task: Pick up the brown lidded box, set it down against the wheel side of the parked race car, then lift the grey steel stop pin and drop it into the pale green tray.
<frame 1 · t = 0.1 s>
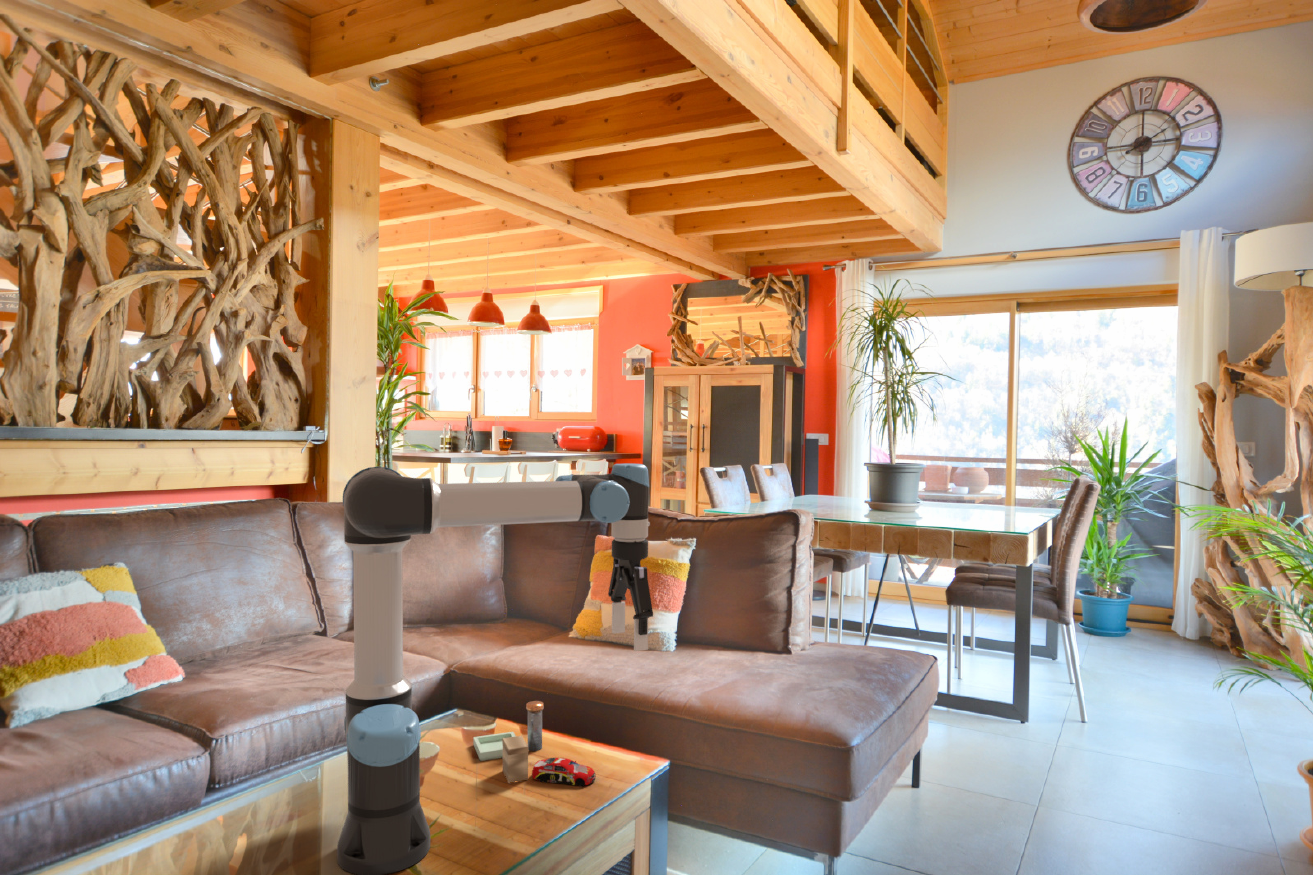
hand: (629, 641, 171), 28 cm above the table, fingers open, 13 cm apart
race car: (563, 781, 169), on the table
brown lidded box: (515, 775, 170), on the table
tray: (497, 749, 183), on the table
stop pin: (534, 748, 184), on the table
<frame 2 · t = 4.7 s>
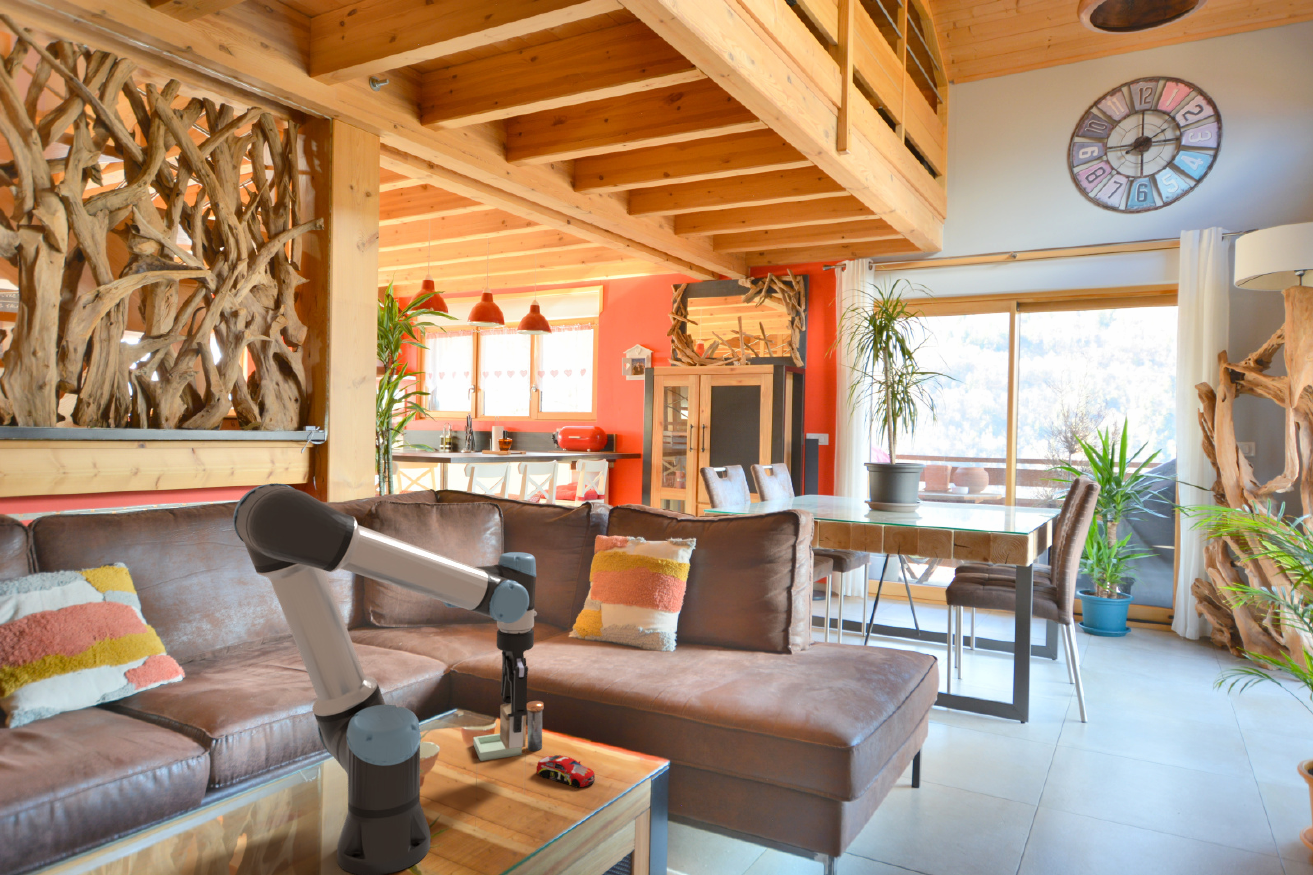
hand: (512, 740, 170), 8 cm above the table, fingers closed on brown lidded box, 6 cm apart
brown lidded box: (512, 742, 170), point 7 cm above the table, touching gripper
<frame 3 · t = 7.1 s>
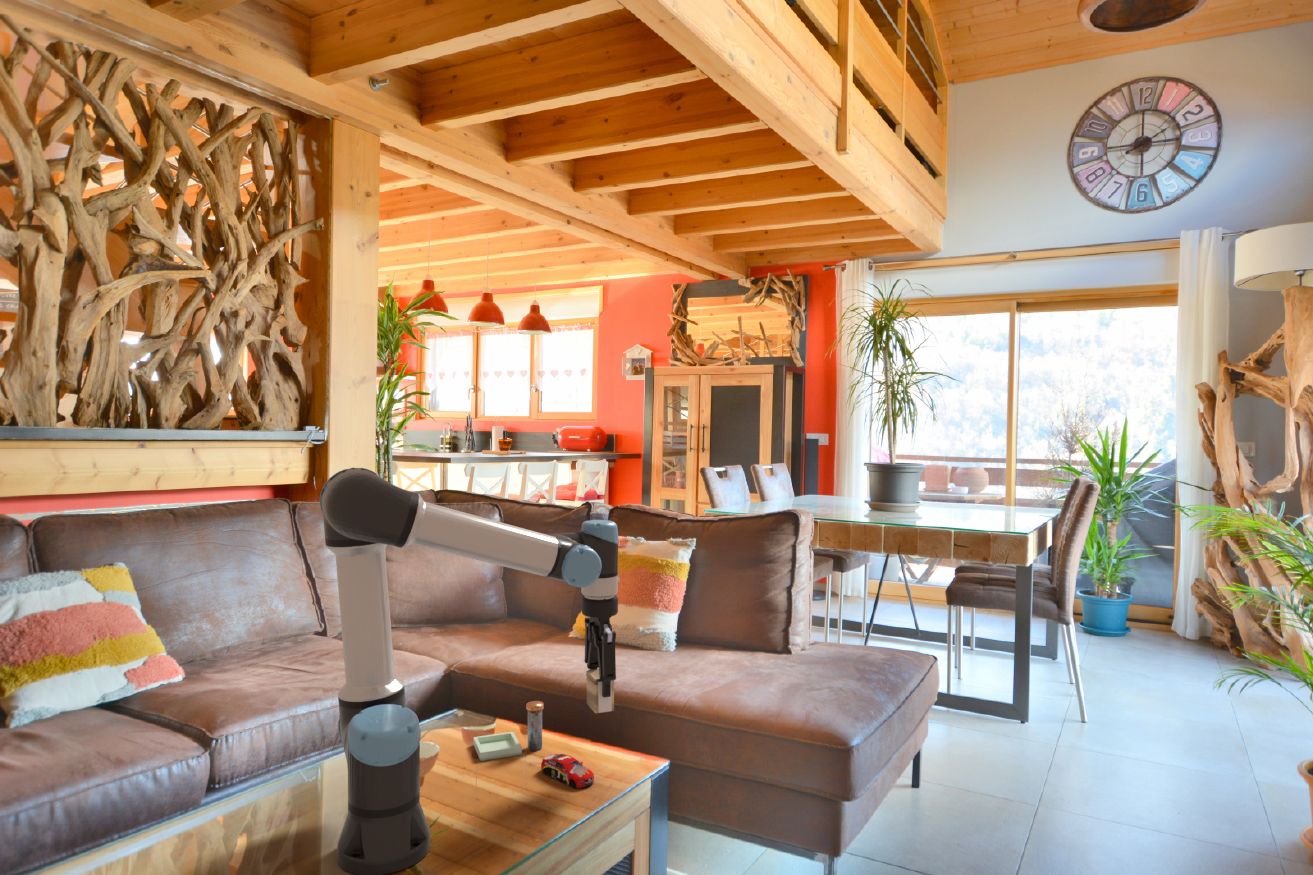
hand: (599, 705, 171), 14 cm above the table, fingers closed on brown lidded box, 6 cm apart
brown lidded box: (600, 707, 171), point 14 cm above the table, touching gripper
when the fingers open (0 cm above the table, at t = 9.7 s): brown lidded box stays where it is, on the table.
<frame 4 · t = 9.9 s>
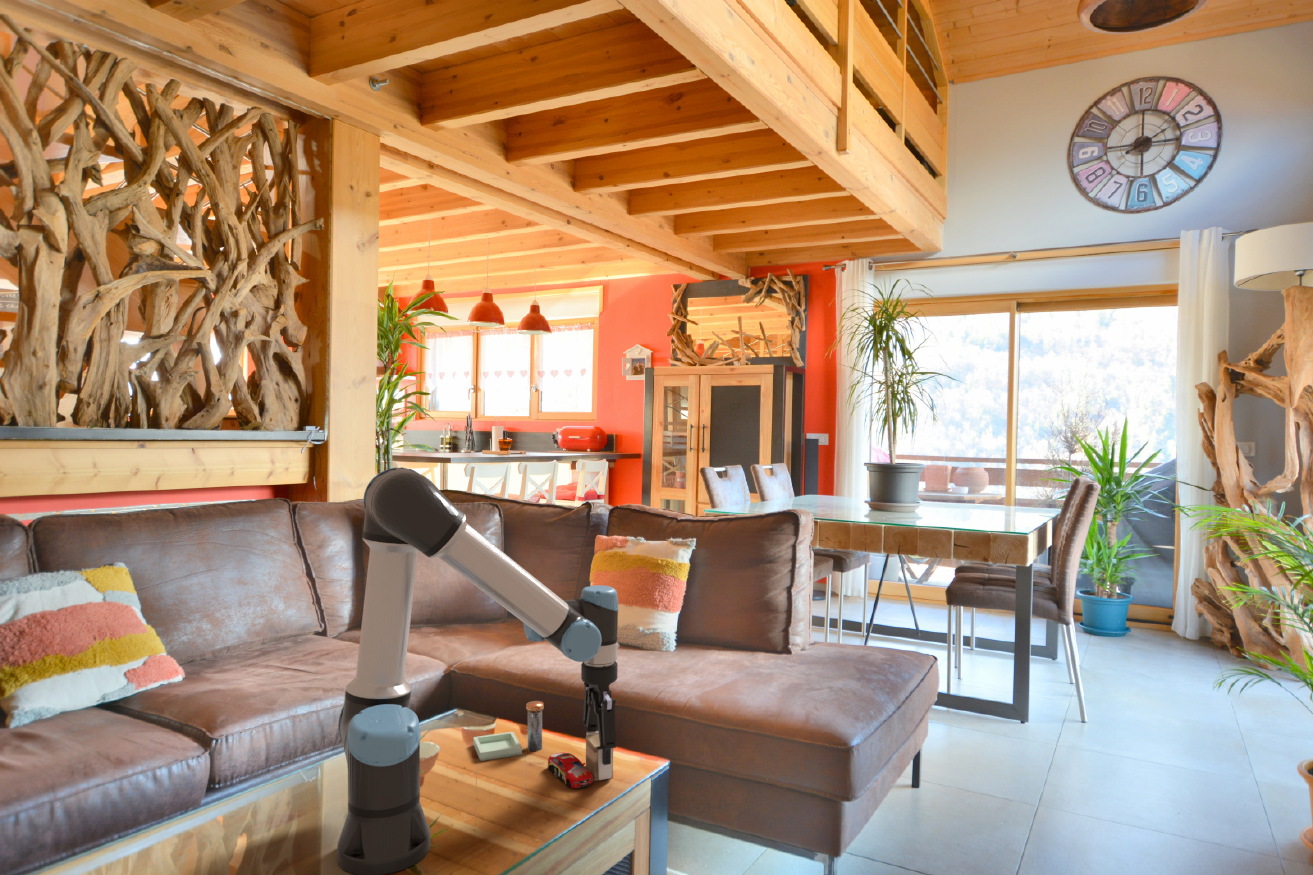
hand: (598, 770, 172), 1 cm above the table, fingers open, 7 cm apart
brown lidded box: (599, 773, 172), on the table
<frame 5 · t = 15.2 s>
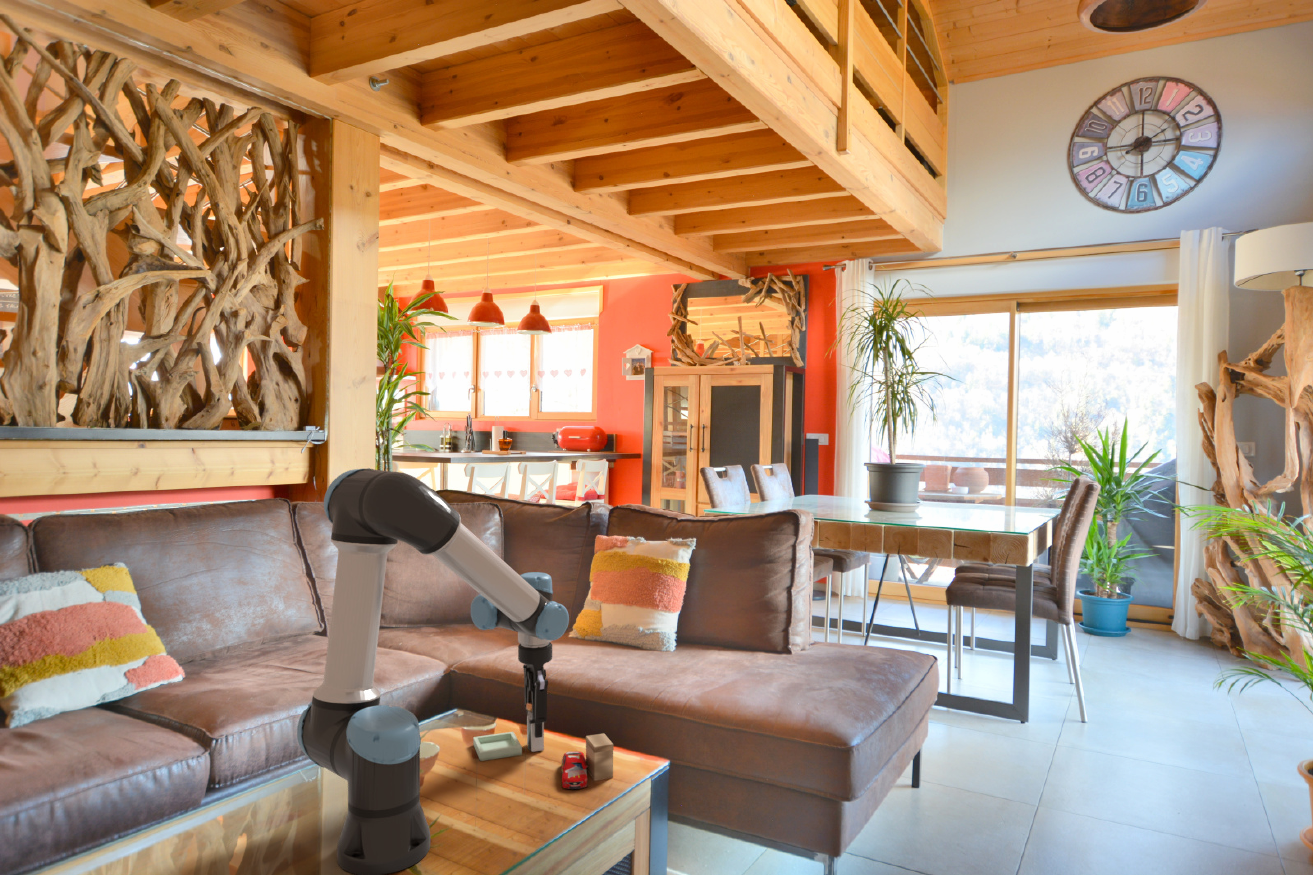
hand: (535, 746, 184), 0 cm above the table, fingers closed on stop pin, 3 cm apart
stop pin: (534, 748, 184), on the table, touching gripper
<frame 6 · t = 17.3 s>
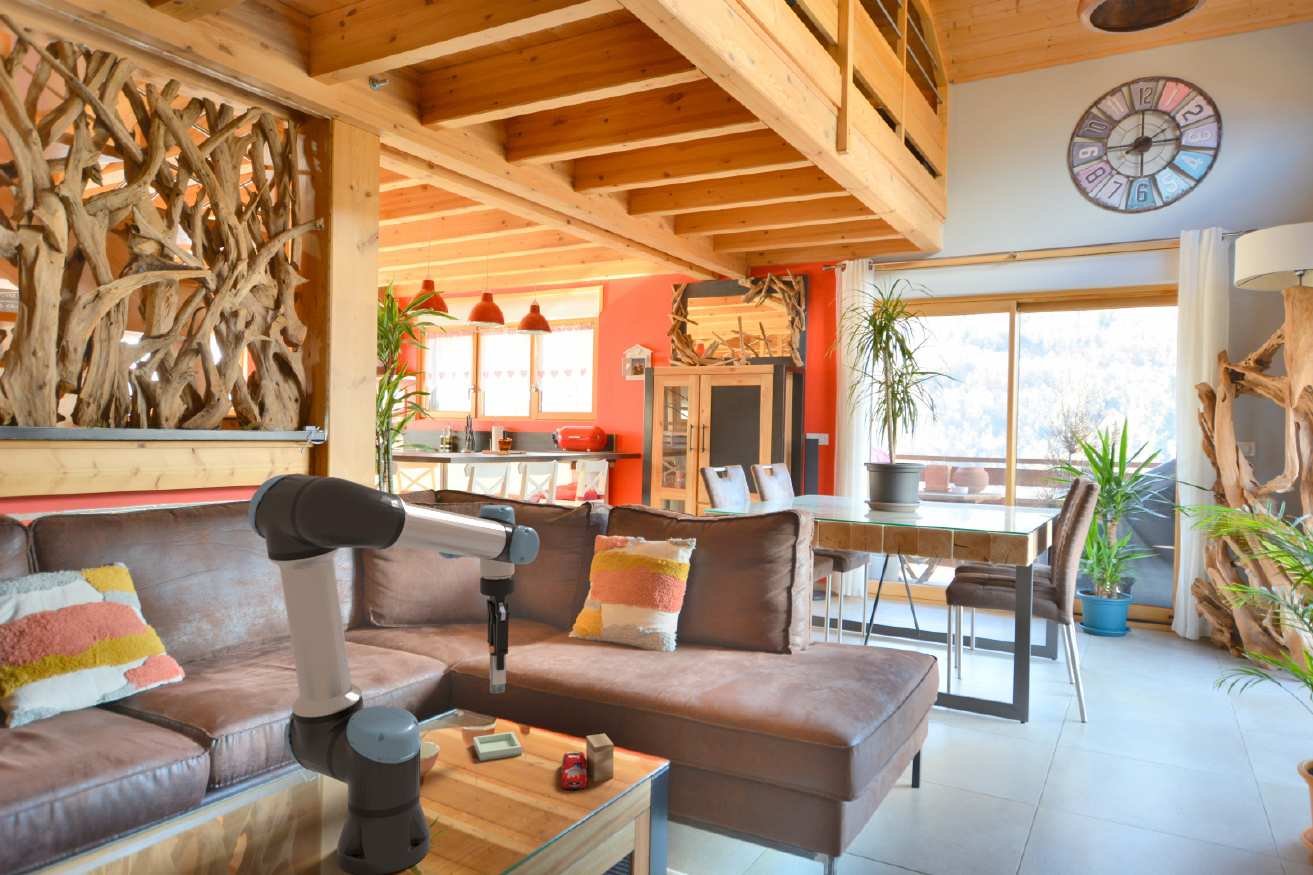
hand: (497, 680, 183), 16 cm above the table, fingers closed on stop pin, 3 cm apart
stop pin: (497, 691, 183), point 13 cm above the table, touching gripper
when the fingers open (3 cm above the table, at t = 19.7 s): stop pin stays where it is, resting on tray.
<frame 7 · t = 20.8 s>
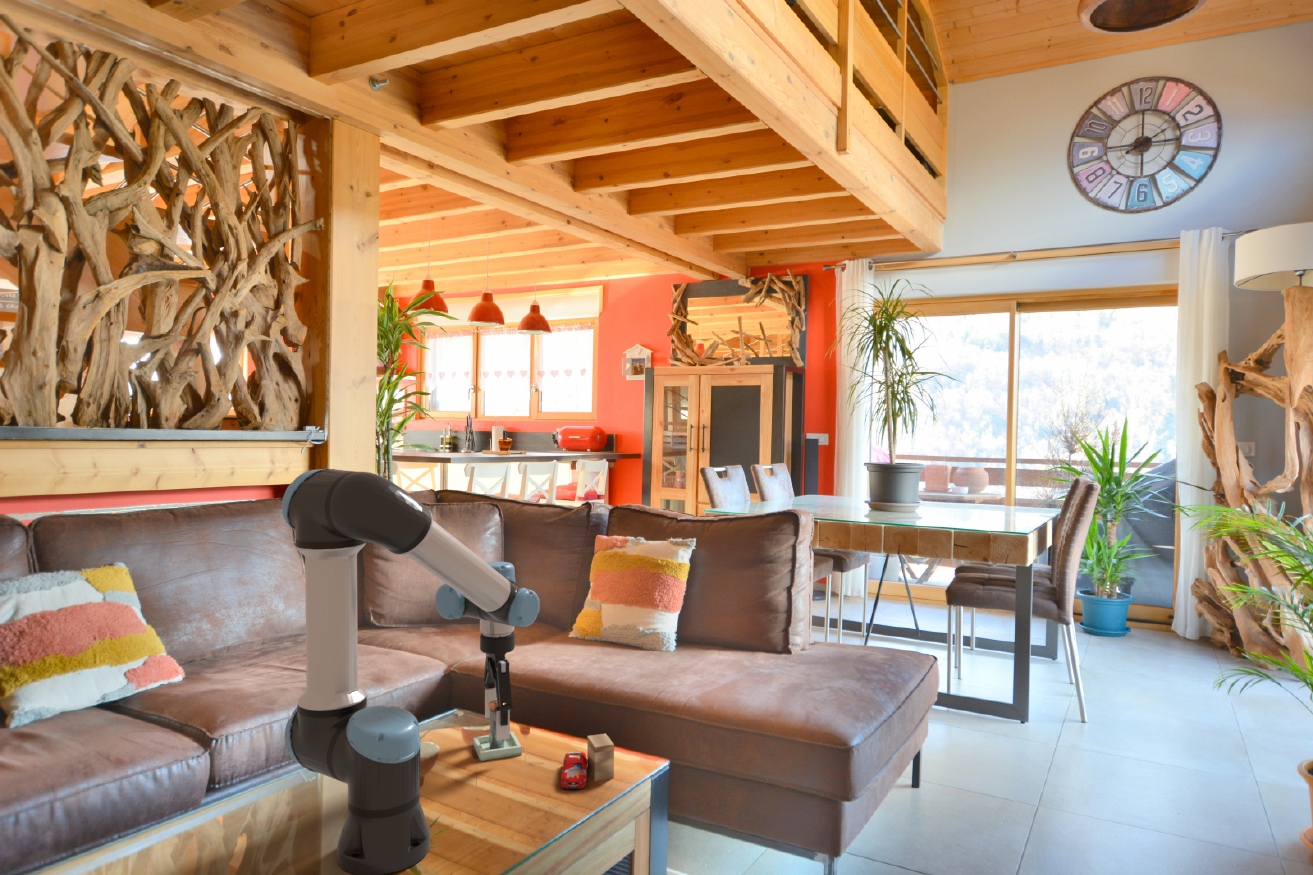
hand: (496, 727, 183), 5 cm above the table, fingers open, 13 cm apart
stop pin: (496, 747, 183), resting on tray
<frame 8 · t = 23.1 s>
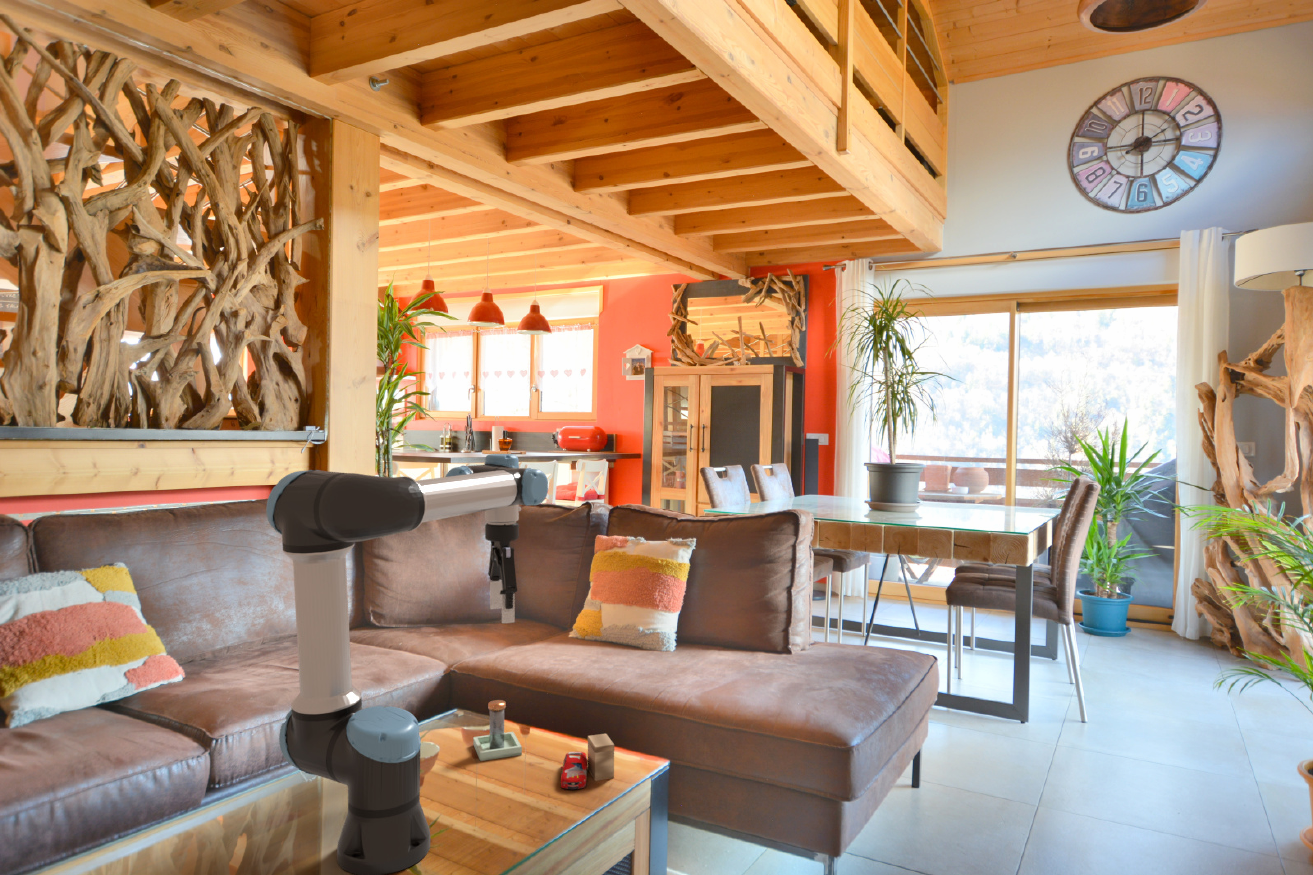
hand: (502, 615, 187), 29 cm above the table, fingers open, 13 cm apart
at the end: brown lidded box inside the target area on the table beside the race car (2.0 cm from its centre), point 0.5 cm above the table; brown lidded box tilted 0°; stop pin inside the target area on the tray (0.1 cm from its centre), point 0.5 cm above the tray's base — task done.
